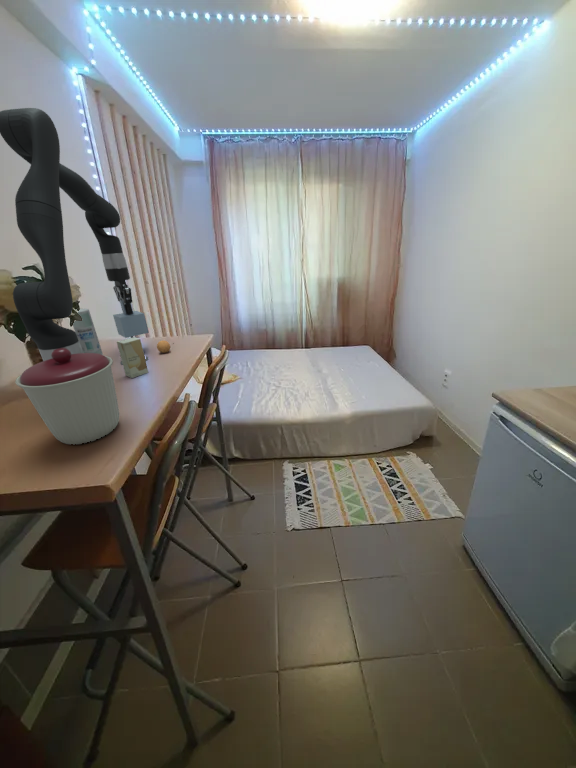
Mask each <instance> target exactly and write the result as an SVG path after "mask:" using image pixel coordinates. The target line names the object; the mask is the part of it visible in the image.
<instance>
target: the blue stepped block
mask: <svg viewBox="0 0 576 768" xmlns="http://www.w3.org/2000/svg"><path fill="white" fill-rule="evenodd" d="M127 300H128V298H127ZM119 304H120V307H121V311H122V313H121V312H120V313H117V314H112V316H113V319H114V323H115V327H116V330H117V331H116V332H117V333H118V335H119V336H121V337H123V338H125V339H128V338H133V337H135V336H142V335H145V334H149V328H148V322H147V320H146V316H145V313H144V312H142V311H138V310H134V309H133V306H132V304H131V308H132V311H133V314H129V315H128V314H126V310H125V306H124V304H123V300H120V302H119Z"/></svg>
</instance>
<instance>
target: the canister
mask: <svg viewBox="0 0 576 768" xmlns="http://www.w3.org/2000/svg"><path fill="white" fill-rule="evenodd" d="M51 357H52V359H49V360H46V361H43V360H42V361H40V362H38V363H35V364H34V365H31V366H30V367H28V368H27V369H25V370H24V371H23V372H22V373H21V374H20V375H19V376H18V377H17V378H16V379H15V381H14V382H15V384H16V386H18V387H19V388H21V389H23V391H24V392H25V394H26V396H27V398H28V399H29V400H30V402H31V404H32V406H33V407H34V408H35V410H36V412H37V413H38V415H39V416H40V418H41V419H42V420H43V423H44V424H45V425H46V427H47V429H48V431H50V433H51V434H52V435H53V437H54V438H55V439H56V440H57V441H58V442H61V443H63V444H66V445H71V444H73V445H75V444H76V445H83V444H82V443H84V444H87V442H89V443H91V442H94V441H97V440H96V439H98V440H99V439H102V438H104V437H105V435H106V436H107V435H109V434H110V433H111V432H113V429H114V430H115V429H116V427H117V426H118V424H119V420H120V410H119V403H118V397H117V390H116V386H115V381H114V380H115V379H114V374H113V369H112V365H113V362H114V361H113V358H112V357H111V356H108V355H104V354H103V355H101V354H97V353H78V354H71V352H70V351H69V350H68V349H66V348H59V349H56V350H54V351H53V352H52V354H51ZM101 437H102V438H101ZM90 441H91V442H90Z"/></svg>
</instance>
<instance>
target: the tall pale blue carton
mask: <svg viewBox="0 0 576 768" xmlns="http://www.w3.org/2000/svg"><path fill="white" fill-rule="evenodd" d="M79 309H80V310H79V311H78V314H79V315H80V316H81V317H82V319H83V320H82V321H75V322H74V323H73V325H72V327H73V331H75V333H76V334H77V337H78V340H79V343H80V345H81V348H82V351H83V353H97V354H101V355H104V353H103V351H102V350H103V349H102V347H101V345H100V341H99V337H98V335H97V331H96V328H95V325H94V322H93V317H92V315H91V311H90V309H89V308H79Z"/></svg>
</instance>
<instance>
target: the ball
mask: <svg viewBox="0 0 576 768" xmlns="http://www.w3.org/2000/svg"><path fill="white" fill-rule="evenodd" d="M156 348H157V351H159V352H160V353H161V354H162V353H164V354H166V353H168V352H169V351H170V350H171V345H170V342H169V341H167V340H164V339H163V340H160V341H158V342H157V344H156Z"/></svg>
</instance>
